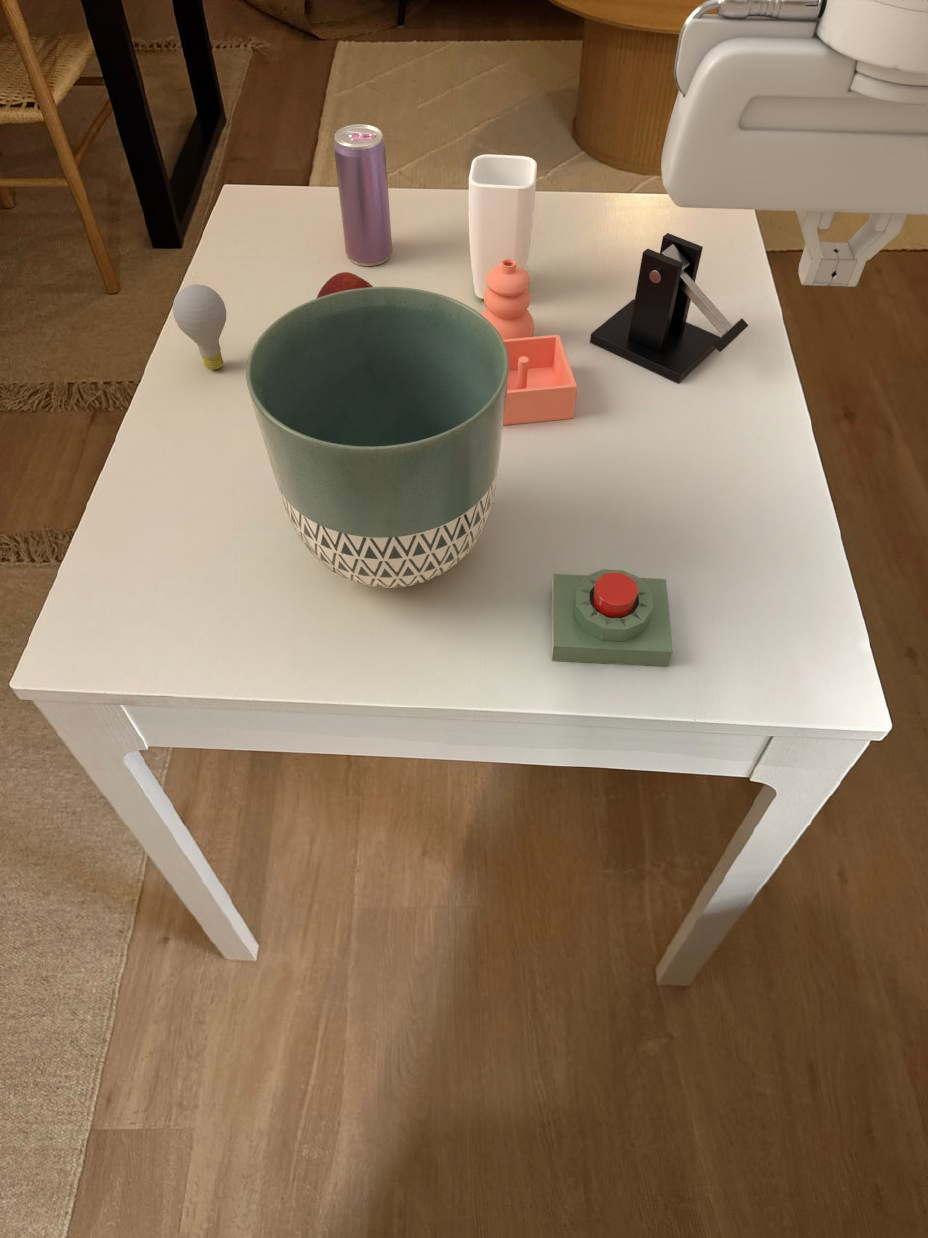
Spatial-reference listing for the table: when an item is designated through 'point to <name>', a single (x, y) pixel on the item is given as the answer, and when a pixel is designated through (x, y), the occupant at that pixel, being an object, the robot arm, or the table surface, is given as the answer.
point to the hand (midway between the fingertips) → (825, 280)
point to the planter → (383, 428)
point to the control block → (610, 623)
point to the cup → (500, 213)
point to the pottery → (528, 352)
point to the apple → (343, 284)
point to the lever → (706, 304)
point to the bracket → (659, 317)
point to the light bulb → (202, 320)
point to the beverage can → (363, 193)
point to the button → (615, 594)
